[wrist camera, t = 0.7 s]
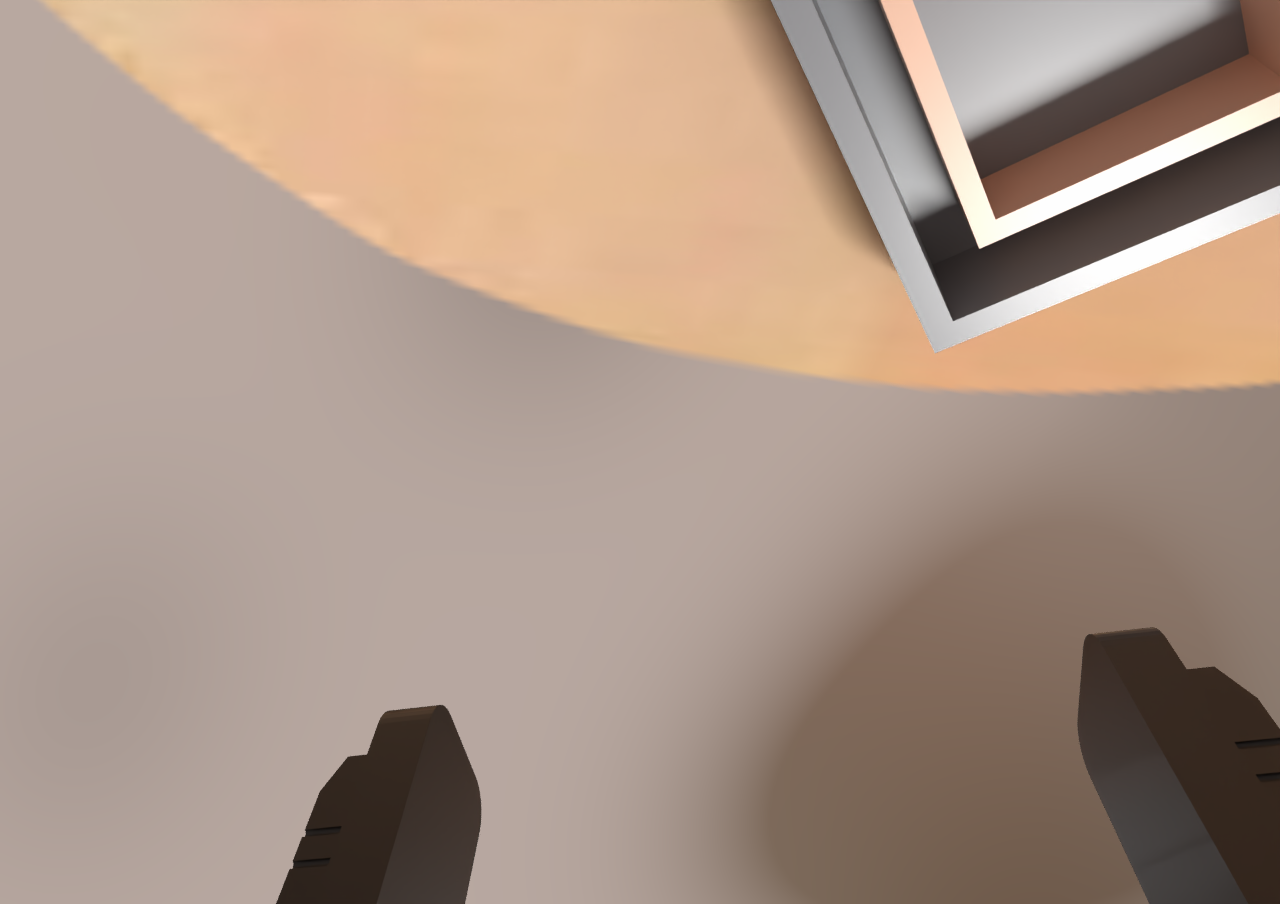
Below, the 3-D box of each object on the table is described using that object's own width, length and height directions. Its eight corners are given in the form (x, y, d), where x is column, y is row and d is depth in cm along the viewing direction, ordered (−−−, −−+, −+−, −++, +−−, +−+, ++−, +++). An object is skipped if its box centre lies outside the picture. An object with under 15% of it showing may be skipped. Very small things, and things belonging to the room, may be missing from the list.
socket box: (731, -113, 29) (735, -77, 25) (1307, -485, 23) (1423, -512, 19) (912, 282, 38) (934, 352, 34) (1364, 83, 32) (1454, 142, 28)
